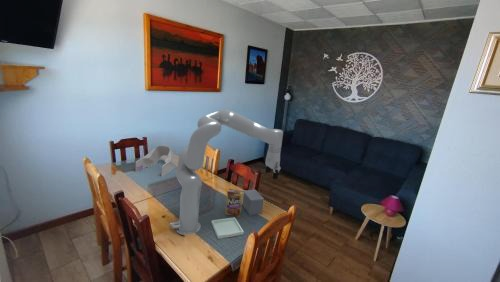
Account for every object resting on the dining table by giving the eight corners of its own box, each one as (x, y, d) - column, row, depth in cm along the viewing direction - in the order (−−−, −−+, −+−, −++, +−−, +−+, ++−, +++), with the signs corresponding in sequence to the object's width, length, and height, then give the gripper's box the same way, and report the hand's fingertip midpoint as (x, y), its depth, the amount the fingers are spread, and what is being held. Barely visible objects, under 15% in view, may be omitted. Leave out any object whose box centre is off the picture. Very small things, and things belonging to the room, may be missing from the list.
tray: (218, 239, 113) (218, 236, 113) (211, 223, 126) (211, 220, 125) (243, 235, 119) (243, 231, 118) (234, 220, 131) (234, 217, 131)
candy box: (224, 214, 136) (227, 191, 132) (226, 211, 140) (228, 188, 136) (239, 217, 134) (242, 193, 131) (241, 213, 139) (243, 190, 135)
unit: (249, 216, 137) (251, 200, 134) (241, 205, 148) (243, 190, 146) (262, 214, 140) (264, 198, 138) (253, 204, 151) (255, 189, 149)
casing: (162, 179, 175) (162, 154, 170) (135, 174, 179) (135, 149, 174) (180, 167, 201) (180, 145, 197) (156, 163, 205) (156, 142, 201)
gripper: (262, 145, 146) (259, 170, 150) (276, 153, 130) (272, 181, 134) (273, 145, 149) (269, 170, 153) (287, 153, 133) (283, 180, 137)
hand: (271, 175), depth 143 cm, fingers open, 9 cm apart
